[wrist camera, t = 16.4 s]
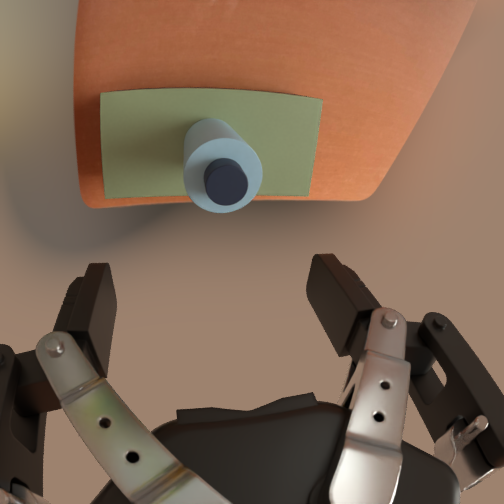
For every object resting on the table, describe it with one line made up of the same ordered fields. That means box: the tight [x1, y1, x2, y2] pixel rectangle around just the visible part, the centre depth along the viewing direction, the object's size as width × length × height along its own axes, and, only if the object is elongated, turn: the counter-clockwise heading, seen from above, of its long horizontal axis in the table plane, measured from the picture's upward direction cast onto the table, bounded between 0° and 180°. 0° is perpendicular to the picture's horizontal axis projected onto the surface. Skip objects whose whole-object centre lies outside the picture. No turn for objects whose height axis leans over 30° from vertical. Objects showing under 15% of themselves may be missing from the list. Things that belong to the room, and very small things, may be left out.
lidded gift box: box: [100, 87, 323, 199], centre depth 35 cm, size 24×12×8 cm, turn 85°
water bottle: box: [183, 118, 262, 213], centre depth 25 cm, size 6×6×14 cm
